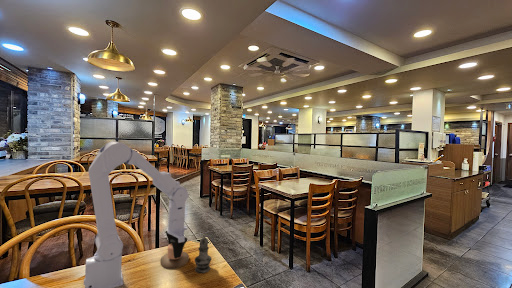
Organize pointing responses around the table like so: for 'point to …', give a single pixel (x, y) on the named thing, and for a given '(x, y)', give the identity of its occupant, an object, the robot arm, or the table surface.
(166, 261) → the post stand
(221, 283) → the table surface
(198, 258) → the dark grey chess piece
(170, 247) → the cap
